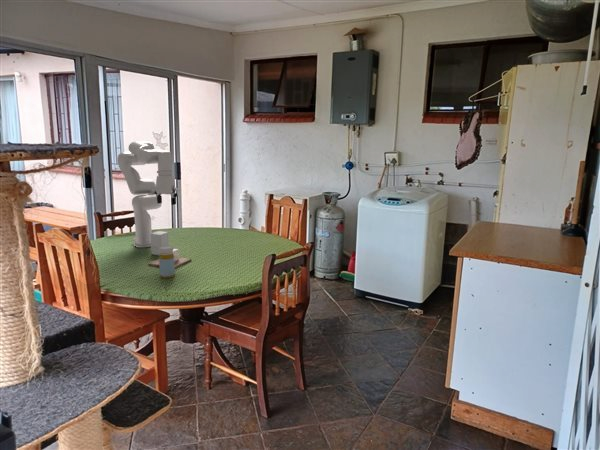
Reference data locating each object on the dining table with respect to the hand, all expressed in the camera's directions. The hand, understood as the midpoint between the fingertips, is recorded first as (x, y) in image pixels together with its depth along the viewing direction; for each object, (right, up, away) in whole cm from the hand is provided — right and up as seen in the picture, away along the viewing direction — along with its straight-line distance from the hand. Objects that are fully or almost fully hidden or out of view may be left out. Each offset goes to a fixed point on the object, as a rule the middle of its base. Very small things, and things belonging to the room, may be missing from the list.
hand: (166, 203), depth 236 cm
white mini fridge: (+5, -32, -8) cm, 33 cm away
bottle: (+9, -38, -28) cm, 48 cm away
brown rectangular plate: (+5, -33, -8) cm, 34 cm away
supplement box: (-7, -29, +10) cm, 31 cm away
